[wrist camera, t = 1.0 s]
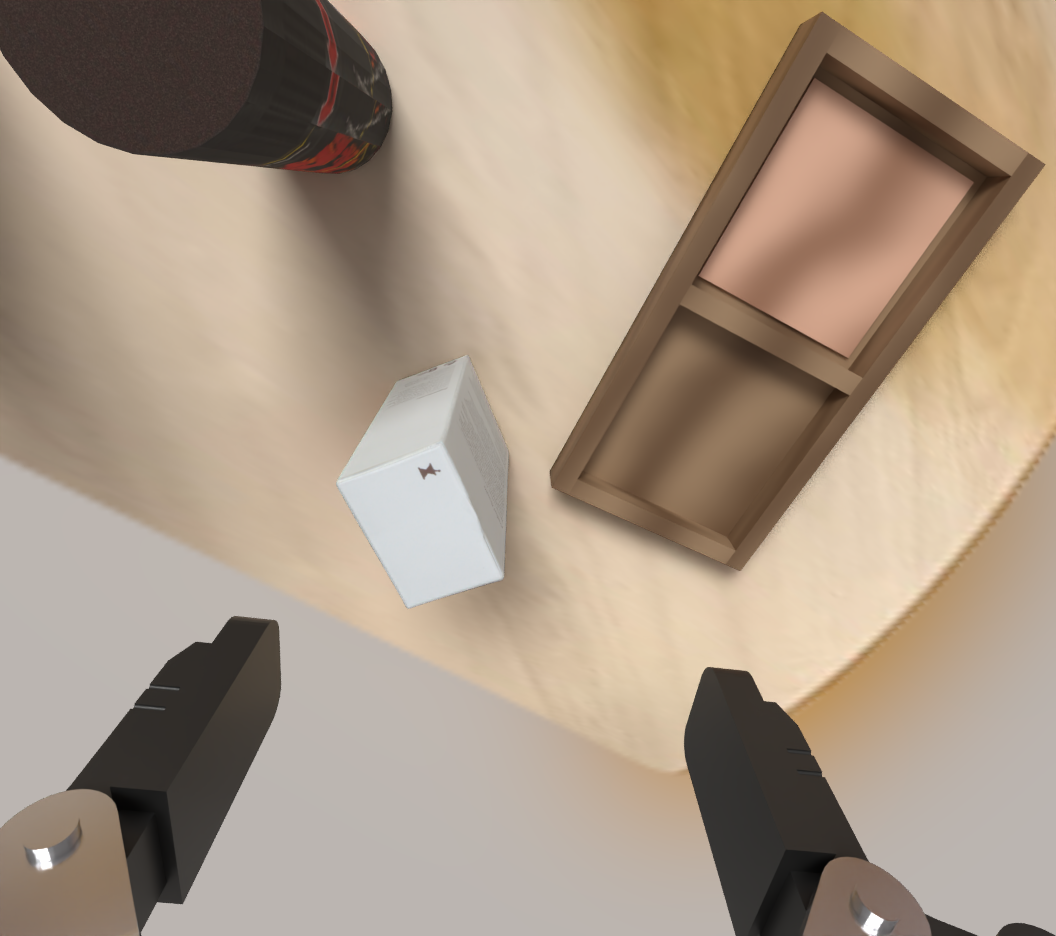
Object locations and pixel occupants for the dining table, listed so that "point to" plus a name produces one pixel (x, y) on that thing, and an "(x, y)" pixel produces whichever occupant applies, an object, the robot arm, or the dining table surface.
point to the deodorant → (206, 78)
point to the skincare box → (433, 485)
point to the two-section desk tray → (790, 294)
